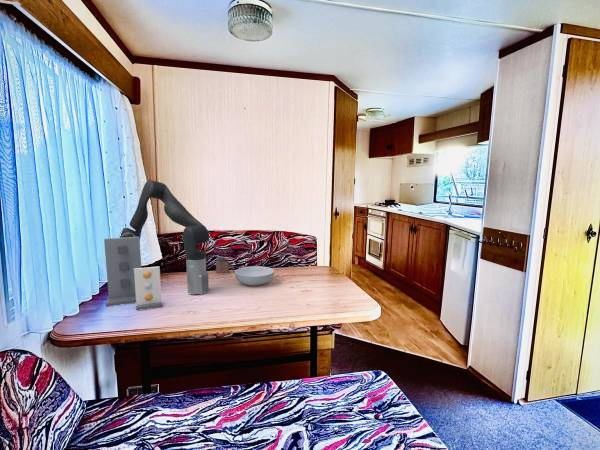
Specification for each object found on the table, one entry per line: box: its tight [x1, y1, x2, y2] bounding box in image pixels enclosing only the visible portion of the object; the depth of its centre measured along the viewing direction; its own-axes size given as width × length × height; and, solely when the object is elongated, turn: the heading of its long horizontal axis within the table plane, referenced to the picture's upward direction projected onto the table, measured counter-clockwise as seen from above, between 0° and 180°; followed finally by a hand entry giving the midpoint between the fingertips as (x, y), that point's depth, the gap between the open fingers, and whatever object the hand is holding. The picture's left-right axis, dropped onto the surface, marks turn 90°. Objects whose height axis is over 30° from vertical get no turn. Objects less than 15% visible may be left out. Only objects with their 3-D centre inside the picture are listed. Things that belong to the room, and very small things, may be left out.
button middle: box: [119, 262, 128, 271], centre depth 152 cm, size 9×4×4 cm, turn 23°
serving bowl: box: [234, 265, 275, 286], centre depth 176 cm, size 21×21×7 cm
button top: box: [118, 246, 127, 254], centre depth 150 cm, size 9×4×4 cm, turn 23°
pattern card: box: [134, 266, 163, 311], centre depth 142 cm, size 6×10×18 cm, turn 113°
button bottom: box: [120, 279, 130, 288], centre depth 153 cm, size 9×4×4 cm, turn 23°
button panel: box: [103, 237, 142, 307], centre depth 150 cm, size 14×15×29 cm
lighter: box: [215, 256, 230, 275], centre depth 194 cm, size 8×3×10 cm, turn 84°
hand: (124, 246), depth 154 cm, fingers closed
